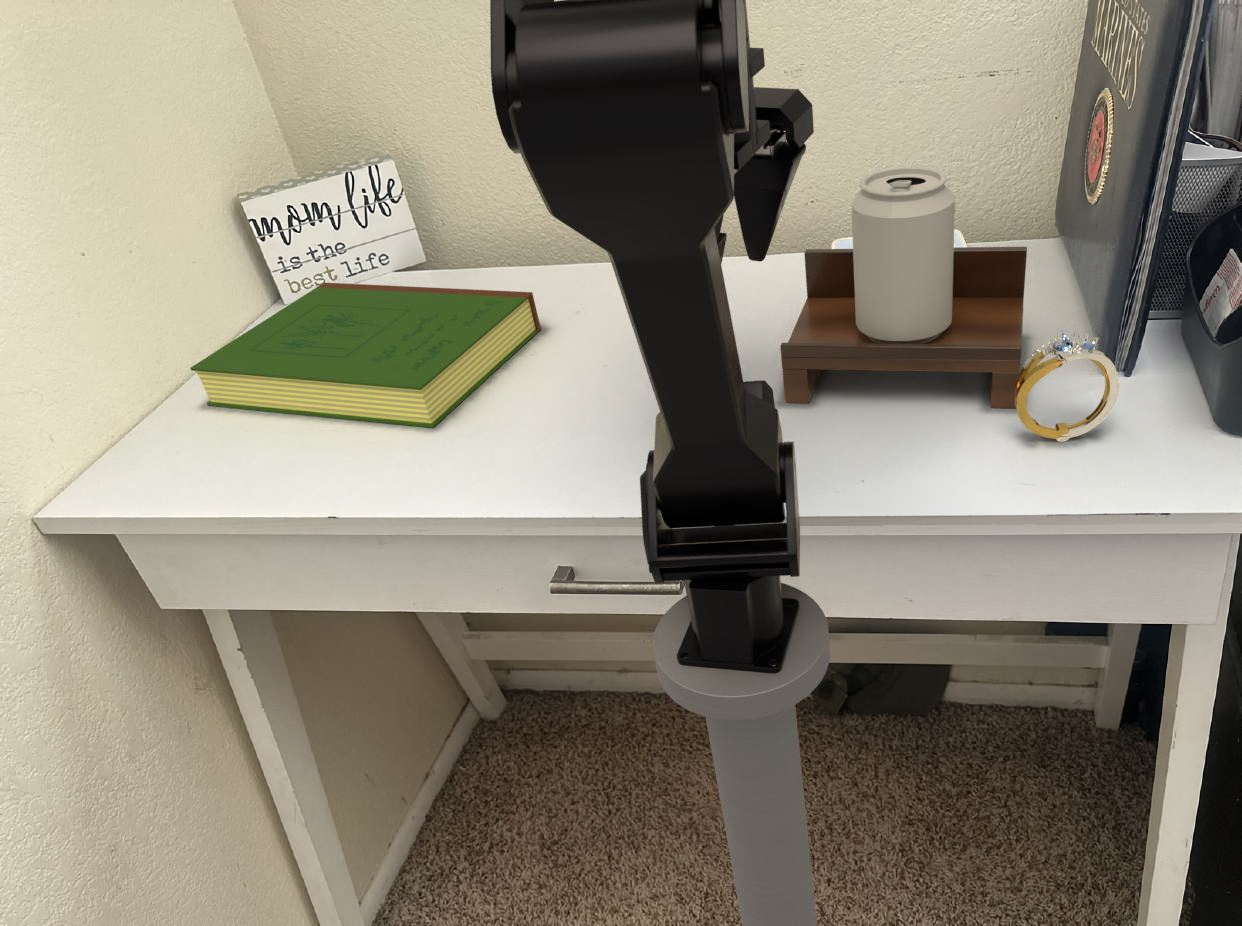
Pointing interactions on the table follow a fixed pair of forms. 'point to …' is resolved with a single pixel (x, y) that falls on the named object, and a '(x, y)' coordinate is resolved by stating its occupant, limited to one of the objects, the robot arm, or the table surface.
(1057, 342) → the ring
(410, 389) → the hardcover book
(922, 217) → the can
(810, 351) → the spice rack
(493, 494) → the table surface
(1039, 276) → the table surface
